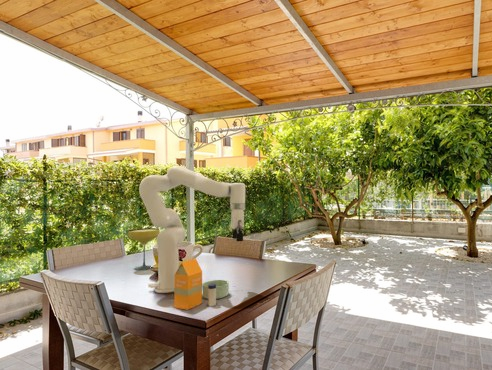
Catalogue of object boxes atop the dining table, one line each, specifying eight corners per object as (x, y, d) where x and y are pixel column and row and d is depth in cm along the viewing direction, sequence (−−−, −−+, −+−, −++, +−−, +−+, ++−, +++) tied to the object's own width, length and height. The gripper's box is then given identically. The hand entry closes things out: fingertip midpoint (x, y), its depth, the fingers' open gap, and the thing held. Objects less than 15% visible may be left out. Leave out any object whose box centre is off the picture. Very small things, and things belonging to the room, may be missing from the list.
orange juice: (174, 307, 139) (174, 261, 140) (188, 300, 147) (189, 257, 148) (188, 309, 136) (188, 263, 137) (202, 303, 145) (202, 259, 145)
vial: (208, 306, 140) (208, 286, 140) (207, 304, 143) (207, 284, 143) (216, 305, 142) (216, 285, 142) (215, 303, 145) (215, 283, 145)
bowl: (203, 301, 147) (203, 288, 147) (201, 293, 158) (201, 281, 158) (230, 297, 152) (230, 285, 152) (226, 290, 163) (226, 278, 163)
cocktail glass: (137, 273, 196) (137, 232, 196) (122, 269, 206) (122, 230, 206) (165, 267, 211) (165, 229, 211) (150, 263, 221) (150, 227, 221)
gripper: (227, 206, 170) (227, 237, 170) (233, 207, 155) (233, 242, 155) (241, 205, 174) (241, 237, 173) (249, 207, 158) (249, 241, 158)
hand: (237, 239), depth 164 cm, fingers open, 9 cm apart
